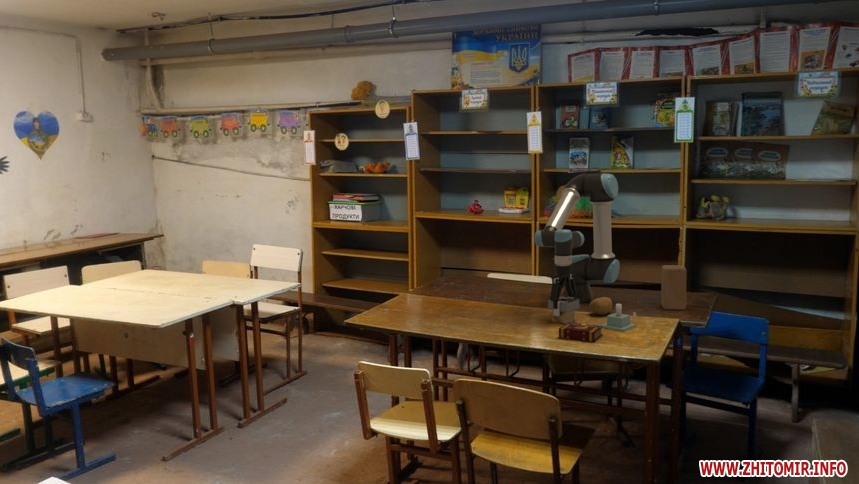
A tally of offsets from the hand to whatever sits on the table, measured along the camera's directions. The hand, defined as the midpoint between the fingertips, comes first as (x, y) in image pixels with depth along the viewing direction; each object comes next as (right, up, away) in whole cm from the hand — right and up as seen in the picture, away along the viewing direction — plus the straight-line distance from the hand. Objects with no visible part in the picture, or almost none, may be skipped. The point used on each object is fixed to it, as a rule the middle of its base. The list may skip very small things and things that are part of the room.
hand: (563, 313), depth 296 cm
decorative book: (+1, -7, -26) cm, 27 cm away
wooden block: (+57, 0, +20) cm, 60 cm away
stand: (0, -3, 0) cm, 3 cm away
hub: (+21, -4, -13) cm, 25 cm away
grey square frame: (0, +2, 0) cm, 2 cm away
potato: (+20, -2, +11) cm, 23 cm away
